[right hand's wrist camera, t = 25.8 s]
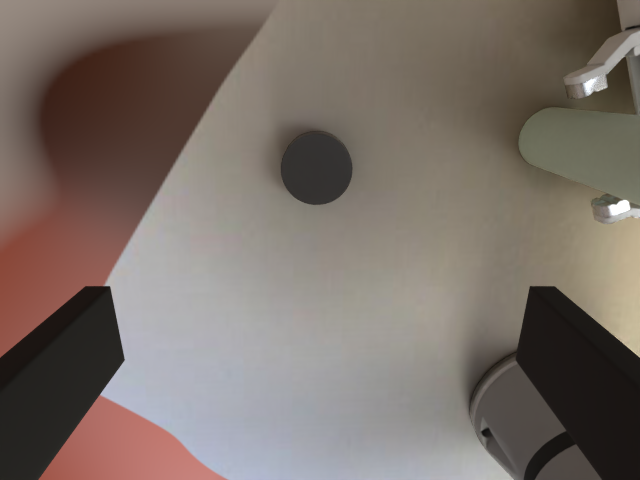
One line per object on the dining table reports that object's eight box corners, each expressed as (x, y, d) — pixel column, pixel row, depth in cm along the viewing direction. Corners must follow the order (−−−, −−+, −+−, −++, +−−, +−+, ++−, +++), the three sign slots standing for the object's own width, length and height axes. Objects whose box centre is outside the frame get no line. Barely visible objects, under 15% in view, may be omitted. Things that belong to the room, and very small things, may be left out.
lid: (307, 116, 33) (306, 118, 32) (363, 156, 35) (366, 160, 33) (270, 174, 35) (267, 179, 33) (325, 210, 36) (326, 217, 34)
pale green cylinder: (581, 154, 35) (775, 206, 20) (524, 175, 35) (671, 240, 21) (572, 97, 33) (776, 108, 18) (512, 120, 34) (663, 148, 19)
